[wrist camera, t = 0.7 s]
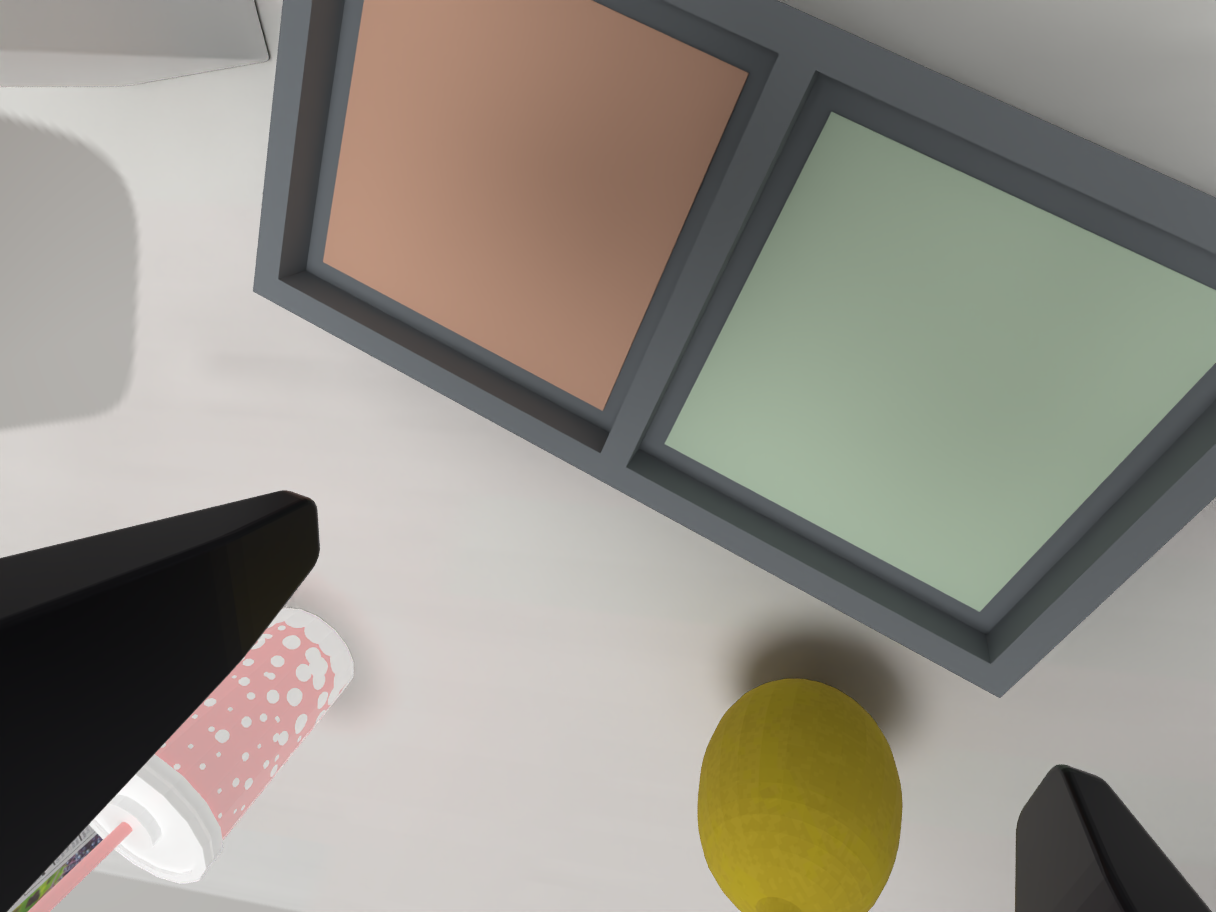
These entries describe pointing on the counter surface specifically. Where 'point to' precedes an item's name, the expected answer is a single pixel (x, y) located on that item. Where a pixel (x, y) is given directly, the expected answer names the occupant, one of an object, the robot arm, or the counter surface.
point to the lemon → (799, 801)
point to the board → (765, 293)
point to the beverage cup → (221, 755)
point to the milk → (123, 40)
